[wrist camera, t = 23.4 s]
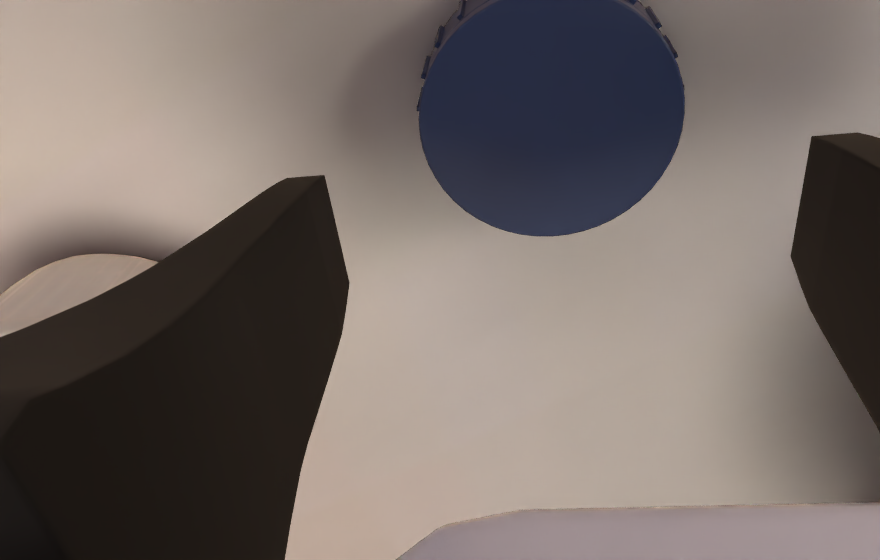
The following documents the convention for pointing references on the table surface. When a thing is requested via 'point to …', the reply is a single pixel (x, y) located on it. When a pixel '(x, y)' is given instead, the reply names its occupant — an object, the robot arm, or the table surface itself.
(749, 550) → the robot arm
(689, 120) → the table surface
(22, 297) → the ramekin
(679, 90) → the jar lid
